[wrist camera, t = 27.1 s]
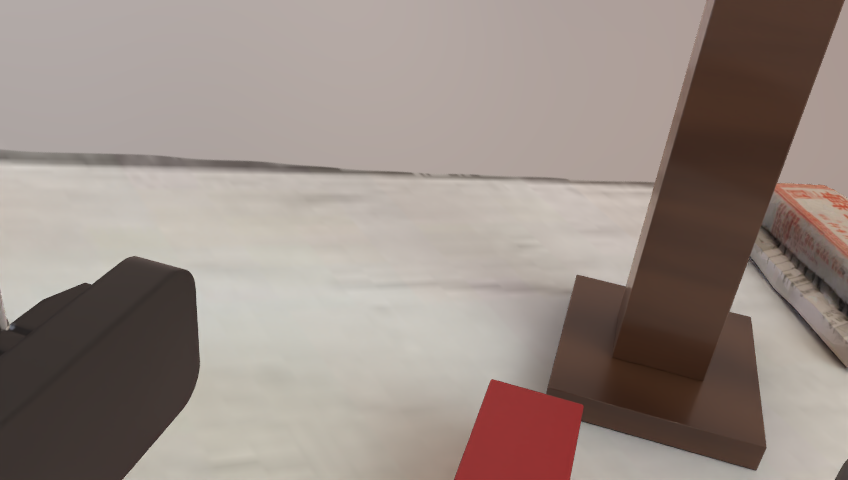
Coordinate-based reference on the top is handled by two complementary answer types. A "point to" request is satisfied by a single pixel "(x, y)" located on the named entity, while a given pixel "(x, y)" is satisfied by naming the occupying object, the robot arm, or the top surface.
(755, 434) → the wooden lectern
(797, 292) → the packaged product
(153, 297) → the robot arm
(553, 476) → the long red slab
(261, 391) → the top surface
